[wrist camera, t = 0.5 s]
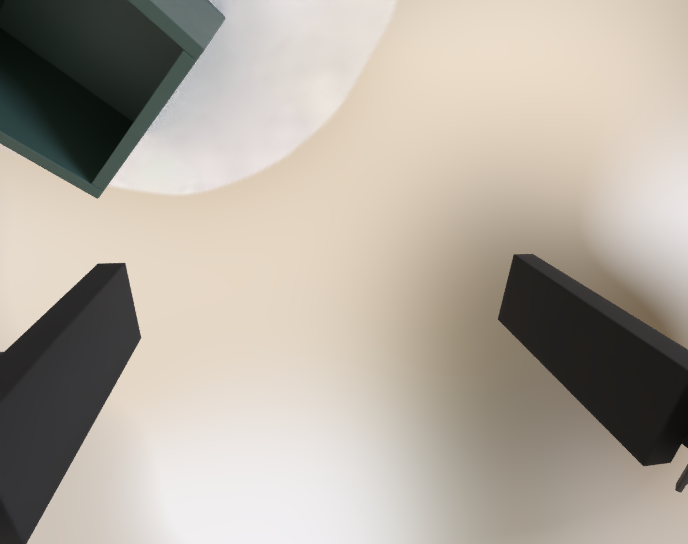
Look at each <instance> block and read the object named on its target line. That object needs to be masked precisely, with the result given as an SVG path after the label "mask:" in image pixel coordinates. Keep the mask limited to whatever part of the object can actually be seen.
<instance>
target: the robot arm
mask: <svg viewBox="0 0 688 544" xmlns="http://www.w3.org/2000/svg"><path fill="white" fill-rule="evenodd" d="M498 320H499V321H500V322H501V323H502V324H503V325H504V326H505V327H506V328H507V329H508V330H509V331H510V332H511V333H512V334H513V335H514V336H515V337H516V338H517V339H518V340H519V341H520V342H521V343H522V344H523V345H524V346H525V347H526V348H527V349H528V350H529V351H530V352H531V353H532V354H533V355H534V356H535V357H536V358H537V359H538V360H539V361H540V362H541V363H542V364H543V365H544V366H545V367H546V368H547V369H548V370H549V371H550V372H551V373H552V374H553V375H554V376H555V377H556V378H557V379H558V380H559V381H560V382H561V383H562V384H563V385H564V386H565V387H566V389H568V390H569V391H570V393H571V394H572V395H573V396H574V397H576V398H577V400H578V401H579V402H580V403H581V404H582V405H584V407H585V408H586V409H587V410H588V411H589V412H590V413H591V414H592V415H593V416H594V417H595V418H596V419H597V420H598V421H599V422H600V423H601V424H602V425H603V426H604V427H605V428H606V429H607V430H608V431H609V432H610V433H611V434H612V435H613V436H614V437H615V438H616V439H617V440H618V441H619V442H620V443H621V444H622V445H623V446H624V447H625V448H626V449H627V450H628V451H629V452H630V453H631V454H632V455H633V456H634V457H635V458H636V459H637V460H638V461H639V462H640V463H641V464H642V465H643V466H648V465H656V464H664V463H670V462H671V461H672V459H673V458H674V456H675V454H676V452H677V450H678V449H679V447H680V445H681V444H683V445H684V446H686V447H687V448H688V350H687V349H686V348H684V347H683V346H681V345H679V344H678V343H676V342H674V341H673V340H671V339H670V338H668V337H666V336H665V335H663V334H661V333H660V332H658V331H657V330H655V329H653V328H652V327H650V326H648V325H647V324H645V323H644V322H642V321H640V320H639V319H637V318H635V317H634V316H632V315H631V314H629V313H627V312H626V311H624V310H623V309H621V308H619V307H618V306H616V305H615V304H613V303H611V302H610V301H608V300H606V299H605V298H603V297H602V296H600V295H598V294H597V293H595V292H593V291H592V290H590V289H589V288H587V287H585V286H584V285H582V284H580V283H579V282H577V281H576V280H574V279H572V278H571V277H569V276H568V275H566V274H564V273H563V272H561V271H559V270H558V269H556V268H554V267H553V266H551V265H550V264H548V263H546V262H545V261H543V260H542V259H540V258H538V257H536V256H535V255H533V254H519V255H518V254H517V255H514V256H513V260H512V264H511V268H510V272H509V276H508V280H507V285H506V288H505V292H504V296H503V301H502V305H501V309H500V313H499V317H498ZM140 339H141V335H140V330H139V326H138V321H137V316H136V312H135V307H134V302H133V297H132V293H131V288H130V283H129V279H128V274H127V269H126V265H125V263H108V264H107V263H106V264H97V265H96V266H95V267H94V268H93V269H92V270H91V271H90V272H89V273H88V274H87V275H86V276H85V277H83V278H82V279H81V280H80V281H79V282H78V283H77V284H76V285H75V286H74V287H73V288H72V289H71V290H70V291H69V292H67V293H66V294H65V295H64V296H63V297H62V298H61V299H60V300H59V301H58V302H57V303H56V304H55V305H54V306H53V307H52V308H50V309H49V310H48V311H47V312H46V313H45V314H44V315H43V316H42V317H41V318H40V319H39V320H38V321H37V322H36V323H35V324H34V325H32V326H31V328H30V329H28V330H27V331H26V332H25V333H24V334H23V335H22V336H21V337H20V338H19V339H18V340H17V341H16V342H14V343H13V344H12V345H11V346H10V347H9V348H8V349H7V350H6V351H5V352H0V544H26V543H27V542H28V540H29V538H30V536H31V534H32V533H33V531H34V529H35V527H36V526H37V524H38V522H39V520H40V518H41V517H42V515H43V513H44V511H45V509H46V507H47V505H48V504H49V502H50V500H51V499H52V497H53V495H54V493H55V491H56V490H57V488H58V486H59V484H60V482H61V481H62V479H63V477H64V475H65V474H66V472H67V470H68V468H69V466H70V464H71V463H72V461H73V459H74V457H75V456H76V454H77V452H78V450H79V448H80V447H81V445H82V443H83V441H84V439H85V438H86V436H87V434H88V432H89V430H90V428H91V427H92V425H93V423H94V422H95V419H96V418H97V416H98V414H99V412H100V411H101V409H102V407H103V405H104V404H105V402H106V400H107V398H108V396H109V395H110V393H111V391H112V389H113V387H114V386H115V384H116V382H117V380H118V378H119V377H120V375H121V373H122V371H123V370H124V368H125V366H126V364H127V362H128V360H129V359H130V357H131V355H132V353H133V352H134V350H135V348H136V346H137V344H138V343H139V341H140ZM687 484H688V465H687V466H686V468H685V470H684V471H683V473H682V475H681V477H680V478H679V480H678V481H677V483H676V489H675V490H676V491H678V492H682V490H683V489H684V487H685V486H686V485H687Z"/></svg>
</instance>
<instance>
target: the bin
mask: <svg viewBox="0 0 688 544" xmlns="http://www.w3.org/2000/svg"><path fill="white" fill-rule="evenodd" d="M224 20H225V17H224V16H223V15H222V14H221V13H220V12H219V11H218V10H217V9H216V8H215V7H214V6H213V5H212V4H211V3H210V2H209V1H208V0H0V143H1V144H2V145H4V146H6V147H8V148H9V149H11V150H13V151H15V152H16V153H18V154H20V155H22V156H23V157H25V158H27V159H29V160H30V161H32V162H34V163H36V164H37V165H39V166H41V167H43V168H44V169H47V170H48V171H50V172H52V173H53V174H55V175H57V176H59V177H60V178H62V179H64V180H66V181H67V182H69V183H71V184H73V185H75V186H76V187H78V188H80V189H81V190H83V191H85V192H87V193H88V194H90V195H92V196H94V197H95V198H99V197H100V195H101V194H102V193H103V191H104V190H105V188H106V187H107V186H108V184H109V183H110V181H111V180H112V179H113V177H114V176H115V174H116V173H117V172H118V170H119V169H120V167H121V166H122V164H123V163H124V162H125V160H126V159H127V157H128V156H129V155H130V153H131V152H132V150H133V149H134V148H135V146H136V145H137V143H138V142H139V141H140V139H141V138H142V136H143V135H144V134H145V132H146V131H147V129H148V128H149V127H150V125H151V124H152V122H153V121H154V120H155V118H156V117H157V115H158V114H159V113H160V111H161V110H162V108H163V107H164V106H165V104H166V103H167V101H168V100H169V99H170V97H171V96H172V94H173V93H174V92H175V90H176V89H177V87H178V86H179V85H180V83H181V82H182V80H183V79H184V78H185V76H186V75H187V73H188V72H189V71H190V69H191V68H192V66H193V65H194V64H195V62H196V61H197V59H198V58H199V57H200V55H201V54H202V52H203V51H204V50H205V48H206V47H207V45H208V44H209V42H210V41H211V39H212V38H213V36H214V35H215V33H216V32H217V30H218V29H219V27H220V26H221V24H222V23H223V21H224Z"/></svg>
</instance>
